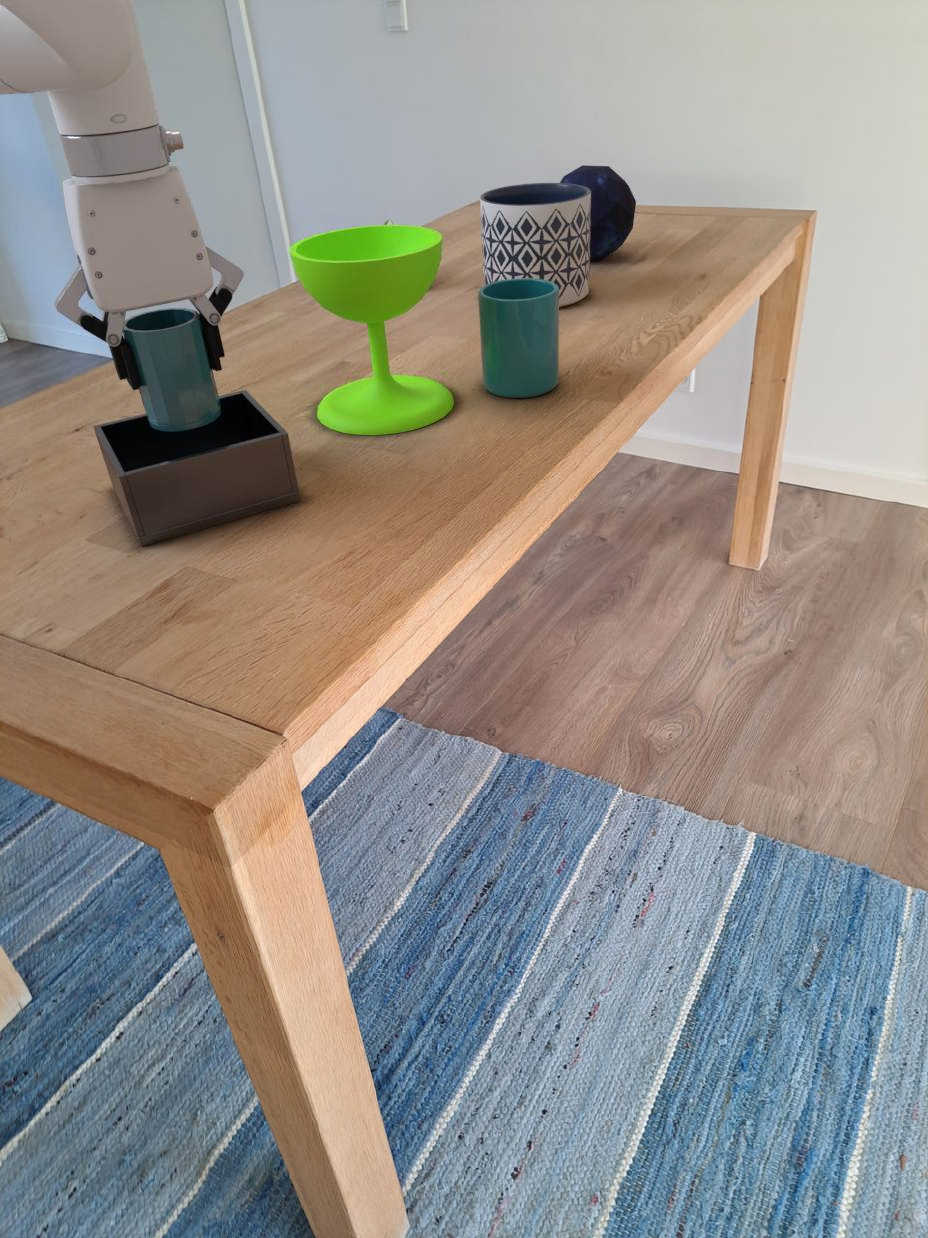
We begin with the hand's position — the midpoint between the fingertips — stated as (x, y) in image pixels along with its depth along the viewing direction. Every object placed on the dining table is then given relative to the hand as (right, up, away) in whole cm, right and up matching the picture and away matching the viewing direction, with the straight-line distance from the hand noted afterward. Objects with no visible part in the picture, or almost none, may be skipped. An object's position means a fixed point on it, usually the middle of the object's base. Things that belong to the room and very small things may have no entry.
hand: (174, 374), depth 80 cm
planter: (+37, +27, +55) cm, 72 cm away
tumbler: (0, -3, +2) cm, 4 cm away
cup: (+33, +6, +27) cm, 43 cm away
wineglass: (+17, +2, +23) cm, 29 cm away
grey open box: (+1, -10, +7) cm, 12 cm away
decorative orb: (+48, +39, +71) cm, 95 cm away
